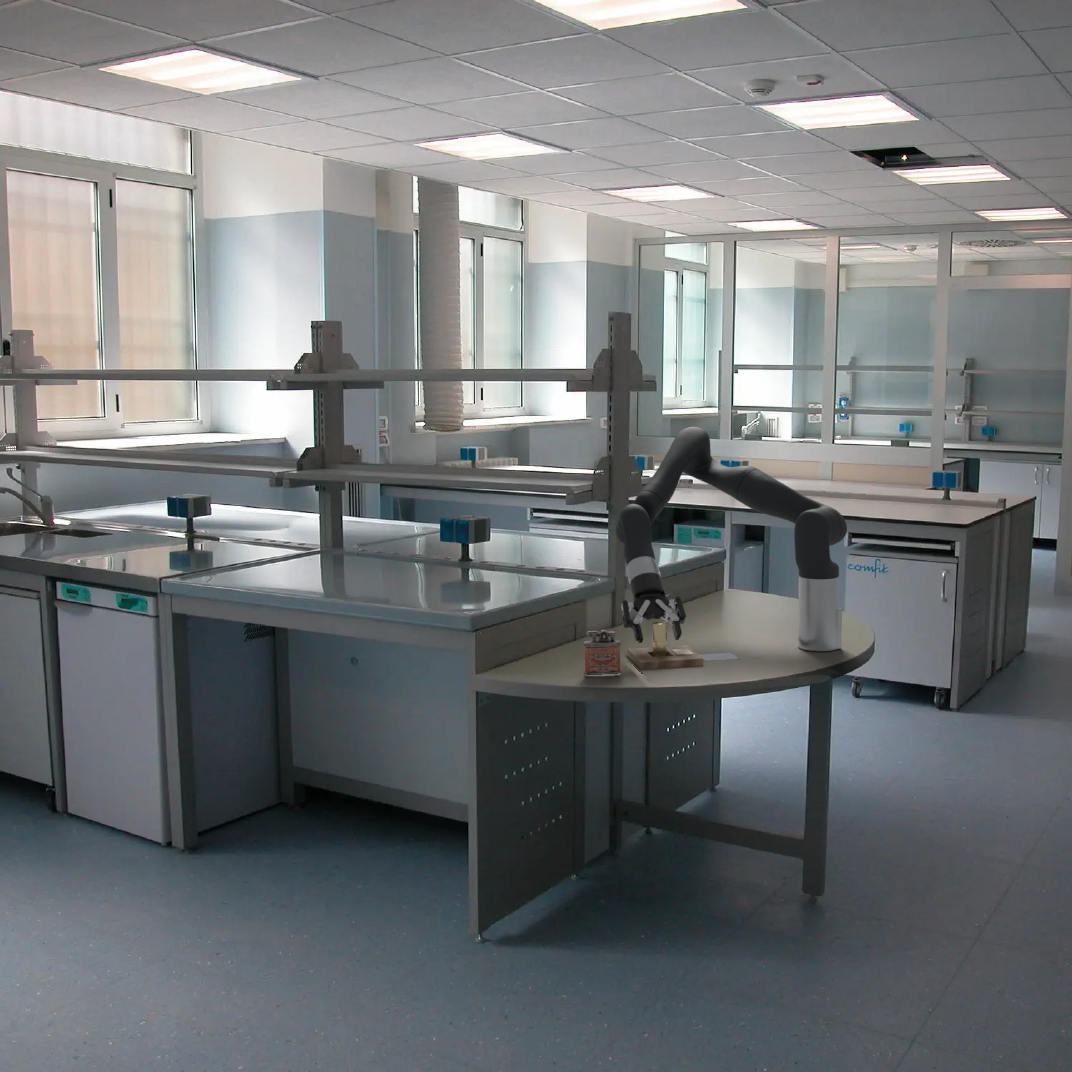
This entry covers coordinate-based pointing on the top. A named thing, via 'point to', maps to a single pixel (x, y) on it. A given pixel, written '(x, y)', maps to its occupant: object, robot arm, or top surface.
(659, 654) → the brass peg
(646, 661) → the hole board
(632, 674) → the top surface
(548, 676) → the top surface
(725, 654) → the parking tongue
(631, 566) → the robot arm
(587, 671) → the lighter
